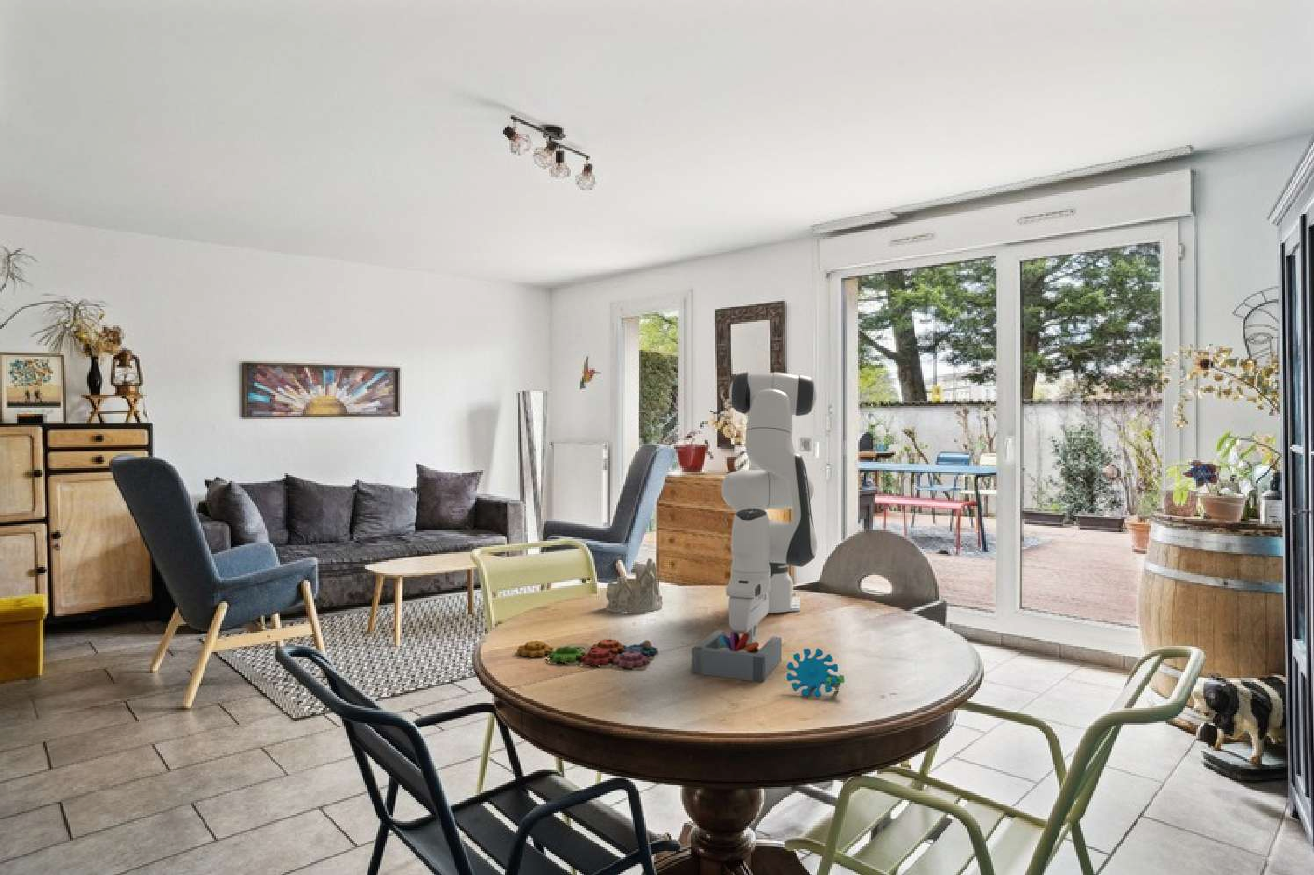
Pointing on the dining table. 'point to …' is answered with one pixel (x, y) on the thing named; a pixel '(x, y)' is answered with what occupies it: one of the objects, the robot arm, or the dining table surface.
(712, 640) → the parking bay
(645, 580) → the ceramic cottage
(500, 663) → the dining table surface
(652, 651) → the gear puzzle
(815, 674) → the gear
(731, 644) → the multicoloured rounded-lobe toy
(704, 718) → the dining table surface
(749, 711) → the dining table surface
